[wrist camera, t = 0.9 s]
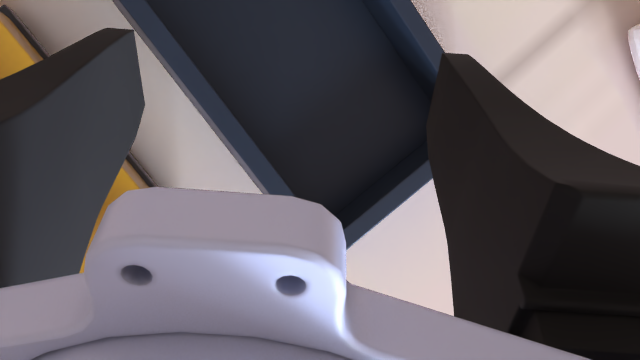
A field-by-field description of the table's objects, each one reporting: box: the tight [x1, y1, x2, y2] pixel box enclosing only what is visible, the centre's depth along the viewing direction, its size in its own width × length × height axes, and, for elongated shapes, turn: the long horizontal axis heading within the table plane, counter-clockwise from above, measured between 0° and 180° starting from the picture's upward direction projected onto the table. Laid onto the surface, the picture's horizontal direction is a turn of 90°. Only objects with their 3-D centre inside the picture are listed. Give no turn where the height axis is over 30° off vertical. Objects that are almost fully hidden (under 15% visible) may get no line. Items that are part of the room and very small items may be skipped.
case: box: [112, 0, 445, 250], centre depth 25 cm, size 10×17×3 cm, turn 37°
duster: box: [0, 5, 158, 273], centre depth 22 cm, size 5×11×5 cm, turn 37°
